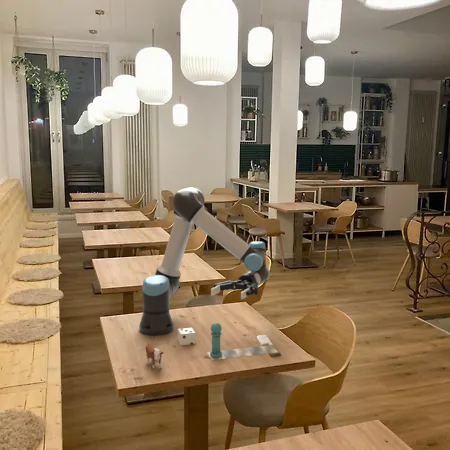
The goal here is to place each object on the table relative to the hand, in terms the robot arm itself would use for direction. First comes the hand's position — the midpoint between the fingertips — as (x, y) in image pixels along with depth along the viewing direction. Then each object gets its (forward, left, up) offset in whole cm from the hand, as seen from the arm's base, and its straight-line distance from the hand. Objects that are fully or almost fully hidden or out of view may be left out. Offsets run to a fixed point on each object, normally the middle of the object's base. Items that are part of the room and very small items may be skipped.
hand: (226, 294), depth 197 cm
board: (+5, -8, -23) cm, 25 cm away
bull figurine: (-30, -8, -23) cm, 39 cm away
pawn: (-6, -8, -22) cm, 24 cm away
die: (-14, +9, -23) cm, 28 cm away
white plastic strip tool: (+18, +2, -24) cm, 30 cm away
